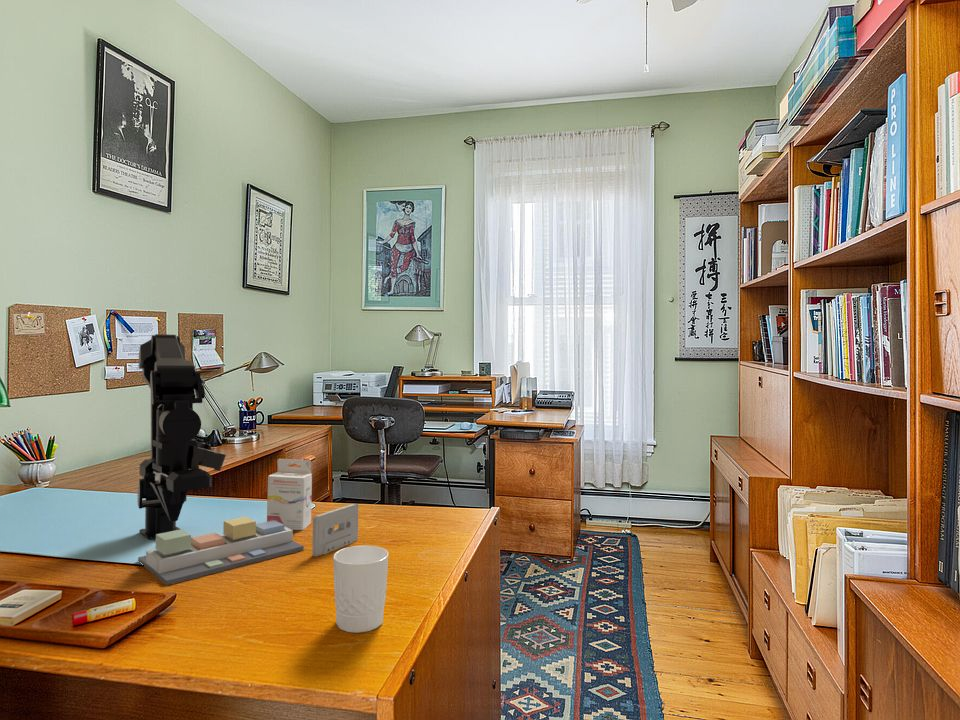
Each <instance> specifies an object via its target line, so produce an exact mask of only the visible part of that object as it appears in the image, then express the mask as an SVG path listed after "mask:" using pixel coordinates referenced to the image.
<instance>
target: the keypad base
mask: <svg viewBox="0 0 960 720" xmlns="http://www.w3.org/2000/svg"><path fill="white" fill-rule="evenodd" d="M219 535H220V536H222V537H224V538H225V544H224V545H220V546H215V547H211V548H207V549H202V550H197V549H196V548H194V547H193V546H191V549H189V550H185V551H180V552H176V553H171V554H167V555H164V554H162V553H161V552H159V551H158V550H157V549H156V548H153V549H148V550H145V555H142V556H138V557H137V562H138V561H139V562H141V563H142V564H143V565H144V566H143V565H142V564H141V565H142V566H143V567H144V568H145V569H146V570H147V571H149V572H150V573H151V574H152V575H154V577H156V578H157V579H158V580H159V581H161V582H162V583H163V584H164V585H165V586H169V585H174V584H178V583H181V582H186V581H190V580H193V579H196V578H202V577H204V576H208V575H213V574H216V573H220V572H223V571H224V572H225V571H227V570H231V569H235V568H240V567H244V566H247V565H252V564H255V563H259V562H263V561H267V560H270V559H273V558H278V557H282V556H285V555H290V554H293V553H294V554H295V553H298V552H300V551H304V545H303V544H300V543H298V542H296V541H294V539H293V538H294V530H291V529H289V528H287V527H285V526H284V531H282V532H277V533H273V534H268V535H264V536H262V535H260V534H258V533H256V535H252V536H247V537H243V538H238V539H234V540H233V539H231V538H229V537H227V536H226V535H224V534H219ZM139 562H138V563H139Z"/></svg>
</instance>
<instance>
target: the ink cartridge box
mask: <svg viewBox="0 0 960 720" xmlns="http://www.w3.org/2000/svg"><path fill="white" fill-rule="evenodd" d="M276 463H277V471H276V472H273V473H272V474H269V475H268V476H267V498H266V499H267V505H266V506H267V507H266V522H268V521H273V520H275V521H277V522H279V523H281V524H284V526H285V527H287V528H289V529H291V530H293V531H294V530H295V531H303V530H305V529H306V528H308V527H309V526H310V525H311V524H312V494H313V493H312V492H313V491H312V490H313V489H312V487H313V486H312V485H313V481H312V480H313V474H312V461H311V460H310V459H297V458H296V459H295V458H293V459H292V458H278V459H277V461H276ZM293 464H295V465H299V466H290V465H293Z"/></svg>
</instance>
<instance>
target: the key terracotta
mask: <svg viewBox="0 0 960 720" xmlns="http://www.w3.org/2000/svg"><path fill="white" fill-rule="evenodd" d="M220 535H221V534H218V533H216V532H212V533H207V534H201V535H197V536H196V535H195V536H193V537H192V536H191V546H193V547H194V548H196V549H197V550H202V549H207V548H211V547H215V546H220V545H224V544H225V538H224V537H222V536H220Z"/></svg>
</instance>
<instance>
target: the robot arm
mask: <svg viewBox="0 0 960 720" xmlns="http://www.w3.org/2000/svg"><path fill="white" fill-rule="evenodd" d="M180 340H181V338H180V336H179V335H176V334H169V333H167V334H161V333H159V334H158V333H157V334H154V335H151V337H150V339H149V340H147V341H146V342H144V343H142V344H140V346H139V352H138V369H140V370H141V371H142V372H141V373H142V374H141V375H142V376H141V377H142V379H143V380H144V381H145V383H146V385H148V387H149V389H150V458H148V459H147V458H145V459H144V460H143V461H141V463H140V464H139V476H142V477H141V478H138V484H137V485H138V486H137V507H138V509H139V510H141V509H145V510H144V512H145V516H144V517H145V519H144V520H145V521H144V525H145V527H144V528H140V529H139V531H138V533H140V534H141V533H142V534H141V535H142V536H144V537H146V538H147V539H148V540H149V539H156V534H160V533H165V532H170V531H175V530H180V529H181V528H180V527H178V526H177V521H178V520H179V518H180V515H181V511H182V508H183V505H184V504H185V502H187V495H188V493H189V491H194V490H202V489H207V488H212V485H213V484H212V477H213V476H212V474H210V473H209V472H208V471H206V470H204V469H202V468H200V467H204V468H209V469H213V471H216V472H217V471H218V472H221V470H222V467H223V464H224V462H225V459H226V456H227V454H225V453H222V452H219V451H216V450H213V449H212V446H211V444H208V443H205V442H201V441H200V442H198V441H197V439H195V438H196V437H197V436H198V434H199V433H200V430H201V428H202V420H201V417H200V415H199V414H198V413H197V412H196V411H195V410H194V407H193V406H194V404H203V399H205V395H206V392H205V386H204V377H203V376H202V375H201V372H200V371H199V370H197V369H196V365H195V364H194V363H193V362H192V361H190V360H187V359H186V350H185V349H186V348H185V347H186V346H185V345H184V344H182V343H181V341H180Z"/></svg>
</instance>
